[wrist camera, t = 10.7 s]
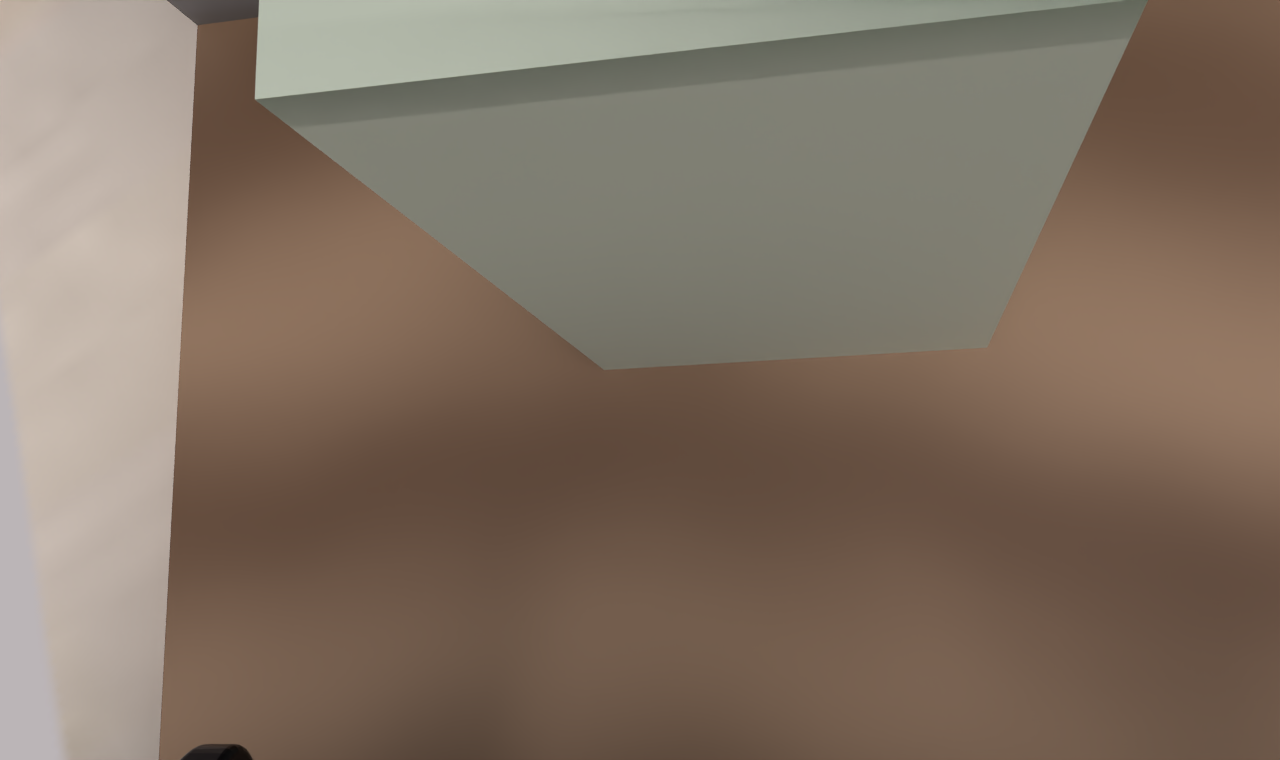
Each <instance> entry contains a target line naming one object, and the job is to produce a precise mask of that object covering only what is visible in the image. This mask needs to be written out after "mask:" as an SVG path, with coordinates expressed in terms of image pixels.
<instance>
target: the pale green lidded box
mask: <svg viewBox="0 0 1280 760" xmlns="http://www.w3.org/2000/svg"><path fill="white" fill-rule="evenodd" d="M1147 1H1148V0H259V14H258V37H257V59H256V82H255V100H256V101H257V102H259V103H260V104H261V105H263V106H264V107H265V108H266V109H268V110H269V111H270V112H272V113H273V114H274V115H275V116H277V117H278V118H279V119H281V120H282V121H283V122H284V123H286V124H287V125H288V126H290V127H291V128H292V129H294V130H295V131H296V132H297V133H299V134H300V135H301V136H303V137H304V138H305V139H306V140H308V141H309V142H310V143H312V144H313V145H314V146H315V147H317V148H318V149H319V150H321V151H322V152H323V153H325V154H326V155H327V156H328V157H330V158H331V159H332V160H334V161H335V162H336V163H337V164H339V165H340V166H341V167H343V168H344V169H345V170H346V171H348V172H349V173H350V174H352V175H353V176H354V177H356V178H357V179H358V180H359V181H361V182H362V183H363V184H365V185H366V186H367V187H368V188H370V189H371V190H372V191H374V192H375V193H376V194H377V195H379V196H380V197H381V198H383V199H384V200H385V201H387V202H388V203H389V204H390V205H392V206H393V207H394V208H396V209H397V210H398V211H399V212H401V213H402V214H403V215H405V216H406V217H407V218H408V219H410V220H411V221H412V222H414V223H415V224H416V225H417V226H419V227H420V228H421V229H423V230H424V231H425V232H427V233H428V234H429V235H430V236H432V237H433V238H434V239H436V240H437V241H438V242H439V243H441V244H442V245H443V246H445V247H446V248H447V249H448V250H450V251H451V252H452V253H454V254H455V255H456V256H458V257H459V258H460V259H461V260H463V261H464V262H465V263H467V264H468V265H469V266H470V267H472V268H473V269H474V270H476V271H477V272H478V273H479V274H481V275H482V276H483V277H485V278H486V279H487V280H489V281H490V282H491V283H492V284H494V285H495V286H496V287H498V288H499V289H500V290H501V291H503V292H504V293H505V294H507V295H508V296H509V297H510V298H512V299H513V300H514V301H516V302H517V303H518V304H520V305H521V306H522V307H523V308H525V309H526V310H527V311H529V312H530V313H531V314H532V315H534V316H535V317H536V318H538V319H539V320H540V321H541V322H543V323H544V324H545V325H547V326H548V327H549V328H551V329H552V330H553V331H554V332H556V333H557V334H558V335H560V336H561V337H562V338H563V339H565V340H566V341H567V342H569V343H570V344H571V345H572V346H574V347H575V348H576V349H578V350H579V351H580V352H582V353H583V354H584V355H585V356H587V357H588V358H589V359H591V360H592V361H593V362H594V363H596V364H597V365H598V366H600V367H601V368H602V369H603V370H612V369H629V368H646V367H663V366H680V365H698V364H715V363H732V362H749V361H766V360H783V359H801V358H818V357H835V356H852V355H869V354H886V353H904V352H921V351H938V350H955V349H972V348H987V347H988V345H989V342H990V340H991V338H992V336H993V334H994V332H995V329H996V327H997V325H998V323H999V321H1000V319H1001V316H1002V314H1003V312H1004V310H1005V308H1006V306H1007V304H1008V301H1009V299H1010V297H1011V295H1012V293H1013V291H1014V288H1015V286H1016V284H1017V282H1018V280H1019V278H1020V275H1021V273H1022V271H1023V269H1024V267H1025V265H1026V263H1027V260H1028V258H1029V256H1030V254H1031V252H1032V250H1033V247H1034V245H1035V243H1036V241H1037V239H1038V237H1039V234H1040V232H1041V230H1042V228H1043V226H1044V224H1045V221H1046V219H1047V217H1048V215H1049V213H1050V211H1051V209H1052V206H1053V204H1054V202H1055V200H1056V198H1057V196H1058V193H1059V191H1060V189H1061V187H1062V185H1063V183H1064V180H1065V178H1066V176H1067V174H1068V172H1069V170H1070V168H1071V165H1072V163H1073V161H1074V159H1075V157H1076V155H1077V152H1078V150H1079V148H1080V146H1081V144H1082V142H1083V139H1084V137H1085V135H1086V133H1087V131H1088V129H1089V127H1090V124H1091V122H1092V120H1093V118H1094V116H1095V114H1096V111H1097V109H1098V107H1099V105H1100V103H1101V101H1102V98H1103V96H1104V94H1105V92H1106V90H1107V88H1108V86H1109V83H1110V81H1111V79H1112V77H1113V75H1114V73H1115V70H1116V68H1117V66H1118V64H1119V62H1120V60H1121V57H1122V55H1123V53H1124V51H1125V49H1126V47H1127V45H1128V42H1129V40H1130V38H1131V36H1132V34H1133V32H1134V29H1135V27H1136V25H1137V23H1138V21H1139V19H1140V16H1141V14H1142V12H1143V10H1144V8H1145V6H1146V3H1147Z"/></svg>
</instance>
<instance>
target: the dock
mask: <svg viewBox="0 0 1280 760" xmlns="http://www.w3.org/2000/svg"><path fill="white" fill-rule="evenodd" d="M168 1H169V2H170V3H171V4H172V5H174V6H175V7H176V8H177V9H179V10H180V11H181V12H182V13H183V14H185V15H186V16H187V17H188V18H190V19H191V20H192V21H193V22H194V23H196V24H197V25H198V29H197V48H196V67H195V86H194V105H193V124H192V142H191V161H190V180H189V199H188V218H187V237H186V256H185V275H184V294H183V313H182V332H181V351H180V370H179V388H178V407H177V426H176V445H175V464H174V483H173V502H172V521H171V540H170V559H169V578H168V597H167V615H166V634H165V653H164V672H163V691H162V710H161V729H160V748H159V760H180V759H181V758H182V757H183V756H184V755H185V754H186V753H188V752H189V751H190V750H192V749H193V748H195V747H197V746H199V745H203V744H239V745H241V746H243V747H245V748H246V749H247V750H248V752H249V753H250V755H251V757H252V758H253V760H1280V0H1148V1H1147V3H1146V6H1145V8H1144V10H1143V12H1142V14H1141V16H1140V19H1139V21H1138V23H1137V25H1136V27H1135V29H1134V32H1133V34H1132V36H1131V38H1130V40H1129V42H1128V45H1127V47H1126V49H1125V51H1124V53H1123V55H1122V57H1121V60H1120V62H1119V64H1118V66H1117V68H1116V70H1115V73H1114V75H1113V77H1112V79H1111V81H1110V83H1109V86H1108V88H1107V90H1106V92H1105V94H1104V96H1103V98H1102V101H1101V103H1100V105H1099V107H1098V109H1097V111H1096V114H1095V116H1094V118H1093V120H1092V122H1091V124H1090V127H1089V129H1088V131H1087V133H1086V135H1085V137H1084V139H1083V142H1082V144H1081V146H1080V148H1079V150H1078V152H1077V155H1076V157H1075V159H1074V161H1073V163H1072V165H1071V168H1070V170H1069V172H1068V174H1067V176H1066V178H1065V180H1064V183H1063V185H1062V187H1061V189H1060V191H1059V193H1058V196H1057V198H1056V200H1055V202H1054V204H1053V206H1052V209H1051V211H1050V213H1049V215H1048V217H1047V219H1046V221H1045V224H1044V226H1043V228H1042V230H1041V232H1040V234H1039V237H1038V239H1037V241H1036V243H1035V245H1034V247H1033V250H1032V252H1031V254H1030V256H1029V258H1028V260H1027V263H1026V265H1025V267H1024V269H1023V271H1022V273H1021V275H1020V278H1019V280H1018V282H1017V284H1016V286H1015V288H1014V291H1013V293H1012V295H1011V297H1010V299H1009V301H1008V304H1007V306H1006V308H1005V310H1004V312H1003V314H1002V316H1001V319H1000V321H999V323H998V325H997V327H996V329H995V332H994V334H993V336H992V338H991V340H990V342H989V345H988V347H987V348H972V349H955V350H938V351H921V352H904V353H886V354H869V355H852V356H835V357H818V358H801V359H783V360H766V361H749V362H732V363H715V364H698V365H680V366H663V367H646V368H629V369H612V370H603V369H602V368H601V367H600V366H598V365H597V364H596V363H594V362H593V361H592V360H591V359H589V358H588V357H587V356H585V355H584V354H583V353H582V352H580V351H579V350H578V349H576V348H575V347H574V346H572V345H571V344H570V343H569V342H567V341H566V340H565V339H563V338H562V337H561V336H560V335H558V334H557V333H556V332H554V331H553V330H552V329H551V328H549V327H548V326H547V325H545V324H544V323H543V322H541V321H540V320H539V319H538V318H536V317H535V316H534V315H532V314H531V313H530V312H529V311H527V310H526V309H525V308H523V307H522V306H521V305H520V304H518V303H517V302H516V301H514V300H513V299H512V298H510V297H509V296H508V295H507V294H505V293H504V292H503V291H501V290H500V289H499V288H498V287H496V286H495V285H494V284H492V283H491V282H490V281H489V280H487V279H486V278H485V277H483V276H482V275H481V274H479V273H478V272H477V271H476V270H474V269H473V268H472V267H470V266H469V265H468V264H467V263H465V262H464V261H463V260H461V259H460V258H459V257H458V256H456V255H455V254H454V253H452V252H451V251H450V250H448V249H447V248H446V247H445V246H443V245H442V244H441V243H439V242H438V241H437V240H436V239H434V238H433V237H432V236H430V235H429V234H428V233H427V232H425V231H424V230H423V229H421V228H420V227H419V226H417V225H416V224H415V223H414V222H412V221H411V220H410V219H408V218H407V217H406V216H405V215H403V214H402V213H401V212H399V211H398V210H397V209H396V208H394V207H393V206H392V205H390V204H389V203H388V202H387V201H385V200H384V199H383V198H381V197H380V196H379V195H377V194H376V193H375V192H374V191H372V190H371V189H370V188H368V187H367V186H366V185H365V184H363V183H362V182H361V181H359V180H358V179H357V178H356V177H354V176H353V175H352V174H350V173H349V172H348V171H346V170H345V169H344V168H343V167H341V166H340V165H339V164H337V163H336V162H335V161H334V160H332V159H331V158H330V157H328V156H327V155H326V154H325V153H323V152H322V151H321V150H319V149H318V148H317V147H315V146H314V145H313V144H312V143H310V142H309V141H308V140H306V139H305V138H304V137H303V136H301V135H300V134H299V133H297V132H296V131H295V130H294V129H292V128H291V127H290V126H288V125H287V124H286V123H284V122H283V121H282V120H281V119H279V118H278V117H277V116H275V115H274V114H273V113H272V112H270V111H269V110H268V109H266V108H265V107H264V106H263V105H261V104H260V103H259V102H257V101H256V100H255V82H256V59H257V37H258V14H259V0H168Z"/></svg>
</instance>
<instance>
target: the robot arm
mask: <svg viewBox="0 0 1280 760" xmlns="http://www.w3.org/2000/svg"><path fill="white" fill-rule="evenodd" d="M180 760H253V758H252V757H251V755H250V753H249V752H248V750H247V749H246V748H245V747H243V746H241V745H239V744H203V745H199V746H197V747H195V748H193V749H192V750H190V751H189V752H188V753H186V754H185V755H184V756H183V757H182V758H181V759H180Z"/></svg>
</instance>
